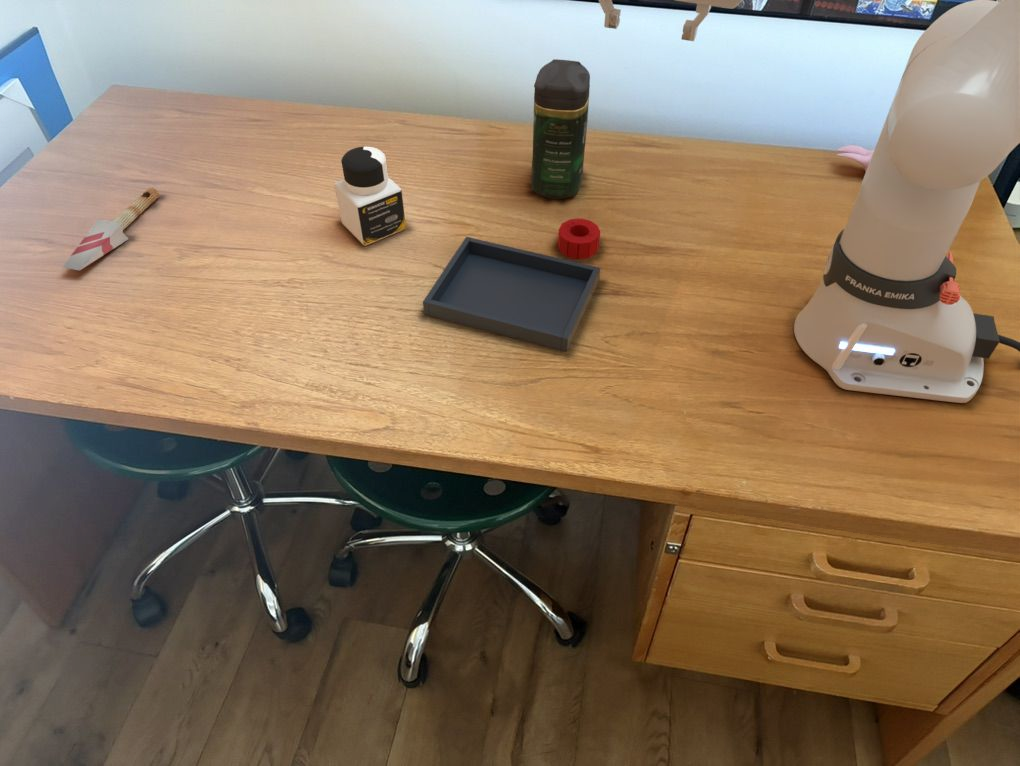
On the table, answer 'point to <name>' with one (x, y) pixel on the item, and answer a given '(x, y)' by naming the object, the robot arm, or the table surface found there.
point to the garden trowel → (108, 233)
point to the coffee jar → (559, 128)
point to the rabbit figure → (857, 154)
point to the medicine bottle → (369, 196)
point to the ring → (578, 238)
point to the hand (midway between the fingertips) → (649, 32)
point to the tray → (513, 293)
